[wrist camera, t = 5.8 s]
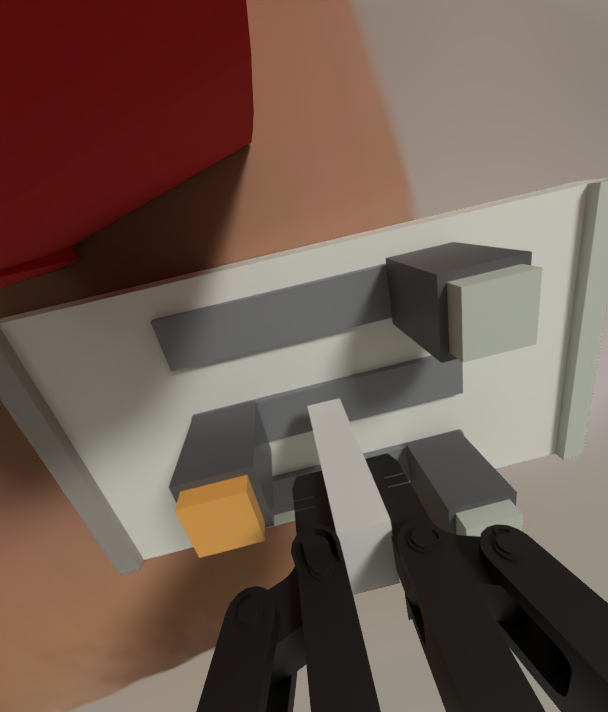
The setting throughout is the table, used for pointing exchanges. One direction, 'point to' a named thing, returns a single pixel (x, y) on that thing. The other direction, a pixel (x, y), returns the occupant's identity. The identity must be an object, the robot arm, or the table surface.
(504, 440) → the white slider panel
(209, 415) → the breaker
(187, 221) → the table surface
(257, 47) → the table surface
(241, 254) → the table surface
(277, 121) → the table surface
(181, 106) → the red rectangular box
